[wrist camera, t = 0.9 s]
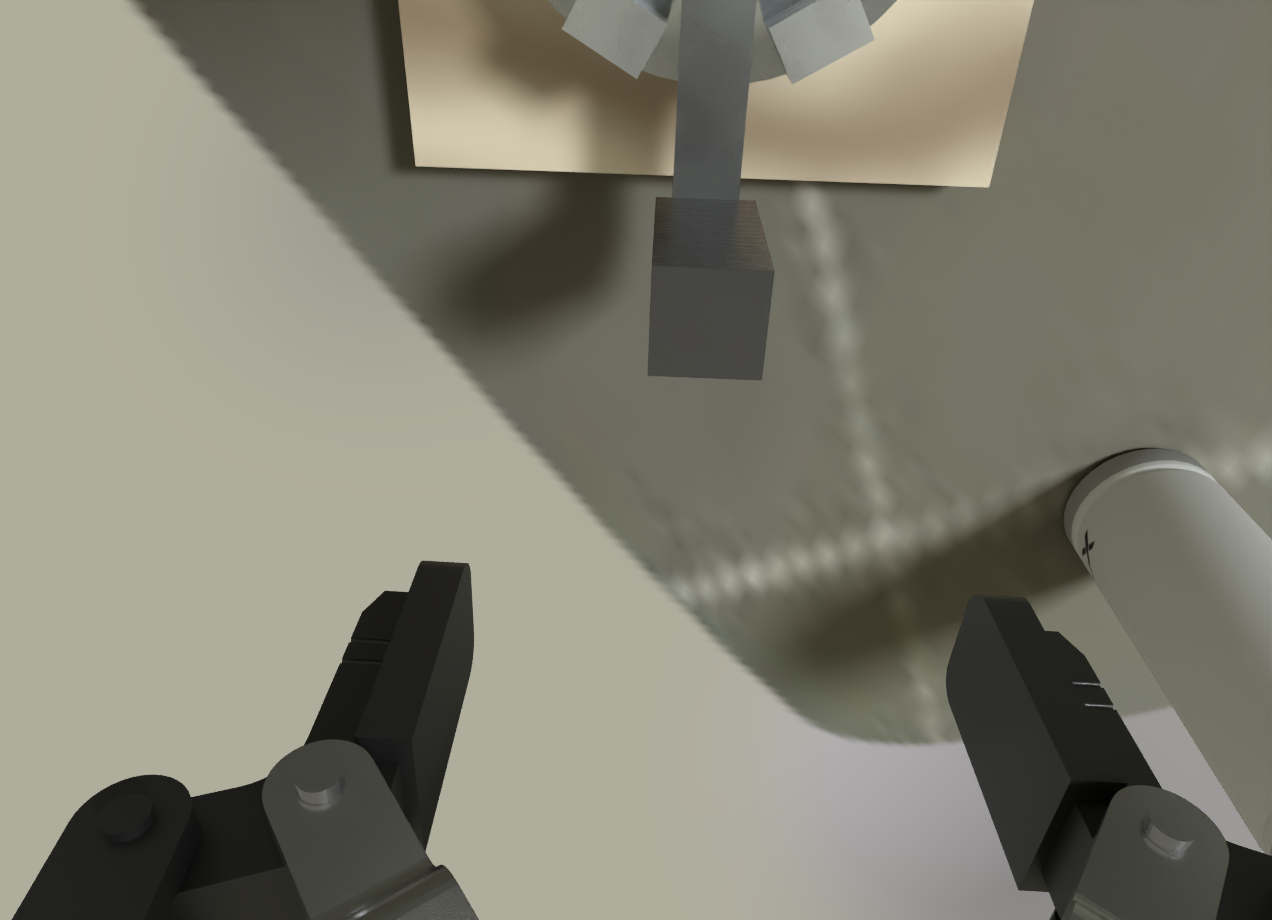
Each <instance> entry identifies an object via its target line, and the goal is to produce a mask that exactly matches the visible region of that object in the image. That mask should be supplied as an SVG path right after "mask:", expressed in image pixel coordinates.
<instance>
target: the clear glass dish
mask: <svg viewBox="0 0 1272 920" xmlns="http://www.w3.org/2000/svg"><path fill="white" fill-rule="evenodd" d="M549 1H550V3H551V4H552V5H553V6H554V8H555V9H556V10H557V11H558V12H559V13H560V14H561V15H562V16H563V17H564V18H565V19H566V21H565V23H564V25H563V27H562V30H564V31H565V32H567V33H568V34H570V35H571V36H573V37H574V38H576V39H577V40H579V41H580V42H582V43H583V44H585V45H586V46H588V47H589V48H591V49H592V50H594V51H595V52H597V53H598V54H600V55H601V56H603V57H604V58H606V59H607V60H609V61H610V62H612V63H613V64H615V65H616V66H618V67H619V68H621V69H622V70H624V71H625V72H627V73H628V74H630V75H631V76H633V77H634V78H636V79H637V78H638V76H639V75H640V73H641V71H645V72H647V73H650V74H652V75H655V76H658V77H662V78H666V79H670V80H674V81H678V88H677V108H676V129H675V149H674V170H673V190H672V198H667V197H656V207H655V223H654V239H653V256H652V275H651V302H650V328H649V354H648V376H668V377H692V378H717V379H741V380H762V374H763V365H764V357H765V348H766V339H767V331H768V322H769V313H770V305H771V296H772V288H773V279H774V267H773V264H772V260H771V256H770V253H769V249H768V245H767V242H766V238H765V234H764V231H763V227H762V223H761V220H760V216H759V213H758V209H757V205H756V202H755V201H747V200H739V192H740V180H741V169H742V158H743V147H744V136H745V125H746V113H747V102H748V91H749V83H753V82H758V81H764V80H770V79H773V78H776V77H779V76H782V75H785V74H786V76H787V77H788V79H789V80H790V82H791V83H792V85H793V84H794V83H796V82H798V81H800V80H802V79H804V78H805V77H807V76H809V75H811V74H813V73H815V72H816V71H818V70H820V69H822V68H824V67H826V66H827V65H829V64H831V63H833V62H835V61H837V60H838V59H840V58H842V57H844V56H846V55H848V54H849V53H851V52H853V51H855V50H857V49H859V48H861V47H862V46H864V45H866V44H868V43H870V42H872V41H873V40H875V39H874V36H873V33H872V30H871V28H870V26H871V25H872V24H874V23H875V22H876V21H877V20H878V19H879V18H880V17H881V16H882V15H883V14H884V13H885V12H886V11H887V10H888V9H889V8H890V7H891V6H892V5H893V4H894V3H895V2H896V1H897V0H549Z"/></svg>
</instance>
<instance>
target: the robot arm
mask: <svg viewBox="0 0 1272 920" xmlns="http://www.w3.org/2000/svg"><path fill="white" fill-rule="evenodd" d="M473 648H474V626H473V607H472V589H471V572H470V566H469V564H468V563H454V562H437V561H421V563H420V564H419V566H418V569H417V572H416V574H415V577H414V579H413V582H412V585H411V587H410V590H409V592H395V591H384V592H383V593H382V594H381V595H380V596H379V597H378V598H377V599H376V600H375V601H374V602H373V603H372V604H371V605H370V606H368V607H367V608H366V609H365V610H364V611H363V612H362V614H361V616H360V619H359V621H358V623H357V626H356V628H355V630H354V632H353V635H352V637H351V643H349V644H348V646H347V648H346V651H345V653H344V655H343V658H342V664H341V663H340V665H339V667H338V669H337V672H336V674H335V676H334V679H333V681H332V683H331V686H330V688H329V690H328V692H327V695H326V697H325V699H324V702H323V704H322V706H321V709H320V711H319V713H318V716H317V718H316V720H315V722H314V725H313V727H312V730H311V732H310V734H309V736H308V739H307V740H306V742H305V744H304V746H302V747H300V748H298V749H296V750H294V751H292V752H291V753H289V754H288V755H286V756H285V757H284V758H282V759H281V760H280V761H279V762H278V763H277V764H276V765H275V766H274V767H273V769H272V770H271V771H270V773H269V775H268V776H267V777H266V778H264V779H262V780H260V781H257V782H254V783H252V784H248V785H245V786H241V787H237V788H232V789H228V790H223V791H218V792H214V793H209V794H204V795H200V796H195V797H190V794H189V791H188V790H187V789H186V787H185V786H184V785H183V784H182V783H180V782H179V781H177V780H175V779H173V778H171V777H167V776H162V775H142V776H137V777H132V778H129V779H125V780H122V781H120V782H117V783H115V784H113V785H111V786H109V787H107V788H105V789H103V790H102V791H100V792H98V793H97V794H96V795H94V796H93V797H91V798H90V799H89V800H88V801H87V802H86V803H84V804H83V805H82V806H81V807H80V808H79V810H78V811H77V812H76V813H75V814H74V816H73V817H72V818H71V820H70V821H69V823H68V825H67V826H66V828H65V830H64V832H63V833H62V835H61V837H60V838H59V840H58V842H57V843H56V845H55V847H54V848H53V850H52V852H51V854H50V855H49V857H48V859H47V860H46V862H45V864H44V866H43V867H42V869H41V871H40V872H39V874H38V876H37V878H36V879H35V881H34V883H33V884H32V886H31V888H30V890H29V891H28V893H27V895H26V897H25V898H24V900H23V901H22V903H21V905H20V907H19V908H18V910H17V912H16V913H15V915H14V917H13V919H12V920H479V919H478V918H477V916H476V914H475V912H474V910H473V909H472V907H471V905H470V904H469V902H468V900H467V898H466V897H465V895H464V893H463V892H462V890H461V888H460V886H459V885H458V883H457V882H456V880H455V878H454V877H453V875H452V874H451V873H450V871H449V870H448V869H447V868H446V867H445V866H444V865H439V866H437V867H435V866H434V865H433V864H432V862H431V861H430V859H429V858H428V856H427V854H426V852H425V851H426V847H427V843H428V839H429V835H430V831H431V827H432V823H433V819H434V815H435V812H436V807H437V804H438V800H439V796H440V792H441V788H442V784H443V780H444V776H445V772H446V768H447V764H448V760H449V756H450V752H451V748H452V744H453V740H454V736H455V732H456V728H457V724H458V721H459V717H460V713H461V709H462V704H463V701H464V696H465V693H466V689H467V685H468V681H469V677H470V672H471V667H472V660H473V650H474V649H473ZM946 689H947V696H948V701H949V704H950V707H951V710H952V713H953V715H954V718H955V721H956V723H957V726H958V729H959V731H960V734H961V737H962V739H963V742H964V745H965V747H966V750H967V753H968V756H969V758H970V761H971V764H972V766H973V769H974V772H975V774H976V777H977V780H978V782H979V785H980V787H981V790H982V793H983V796H984V799H985V801H986V804H987V807H988V809H989V812H990V815H991V817H992V820H993V823H994V825H995V828H996V830H997V833H998V836H999V839H1000V842H1001V844H1002V847H1003V850H1004V852H1005V855H1006V858H1007V860H1008V863H1009V865H1010V868H1011V871H1012V874H1013V876H1014V879H1015V882H1016V885H1017V887H1018V890H1024V891H1042V892H1049V893H1050V896H1051V898H1052V901H1053V903H1054V906H1055V910H1054V911H1053V913H1052V915H1051V917H1050V919H1049V920H1272V856H1270V855H1267V854H1264V853H1261V852H1258V851H1254V850H1251V849H1248V848H1245V847H1242V846H1239V845H1236V844H1233V843H1231V842H1228V841H1225V839H1224V837H1223V835H1222V833H1221V832H1220V830H1219V829H1218V828H1217V826H1216V825H1215V824H1214V822H1213V821H1212V820H1211V819H1210V818H1209V817H1207V815H1206V814H1205V813H1204V812H1202V811H1201V810H1200V809H1199V808H1198V807H1196V806H1195V805H1193V804H1192V803H1190V802H1189V801H1187V800H1186V799H1184V798H1182V797H1180V796H1178V795H1176V794H1174V793H1172V792H1170V791H1166V790H1164V789H1162V788H1161V786H1160V784H1159V782H1158V781H1157V779H1156V777H1155V776H1154V774H1153V772H1152V770H1151V769H1150V767H1149V765H1148V764H1147V762H1146V760H1145V759H1144V757H1143V755H1142V753H1141V752H1140V750H1139V748H1138V746H1137V745H1136V743H1135V741H1134V740H1133V738H1132V736H1131V734H1130V733H1129V731H1128V730H1127V728H1126V726H1125V724H1124V722H1123V721H1122V719H1121V717H1120V715H1119V714H1118V712H1117V710H1113V703H1112V702H1111V700H1110V698H1109V697H1108V695H1107V693H1106V691H1105V690H1104V688H1101V687H1100V681H1099V679H1098V678H1097V676H1096V674H1095V672H1094V671H1093V669H1092V667H1091V666H1090V664H1089V662H1088V660H1087V659H1086V657H1085V656H1084V655H1083V654H1082V653H1081V652H1080V651H1079V650H1078V649H1077V648H1076V647H1074V646H1073V645H1072V644H1071V643H1070V642H1069V641H1068V640H1067V639H1066V638H1064V637H1063V636H1062V635H1061V634H1060V633H1059V632H1054V631H1044V629H1043V627H1042V625H1041V623H1040V621H1039V620H1038V618H1037V616H1036V614H1035V612H1034V610H1033V609H1032V607H1031V605H1030V603H1029V602H1028V601H1027V600H1026V599H1025V598H1022V597H1008V596H991V595H974V596H973V597H972V598H971V599H970V601H969V603H968V605H967V608H966V611H965V614H964V617H963V620H962V623H961V626H960V629H959V633H958V636H957V639H956V642H955V645H954V648H953V651H952V654H951V657H950V660H949V663H948V667H947V674H946Z"/></svg>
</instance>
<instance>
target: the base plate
mask: <svg viewBox="0 0 1272 920" xmlns="http://www.w3.org/2000/svg"><path fill="white" fill-rule="evenodd" d="M1033 2H1034V0H897V1H896V2H895V3H894V4H893V5H892V6H891V7H890V8H889V9H888V10H887V11H886V12H885V13H884V14H883V15H882V16H881V17H880V18H879V19H878V20H877V21H876V22H875V23H874V24H872V25H871V26H870V28H871V30H872V33H873V36H874V39H875V40H873V41H872V42H870V43H868V44H866V45H864V46H862V47H861V48H859V49H857V50H855V51H853V52H851V53H849V54H848V55H846V56H844V57H842V58H840V59H838V60H837V61H835V62H833V63H831V64H829V65H827V66H826V67H824V68H822V69H820V70H818V71H816V72H815V73H813V74H811V75H809V76H807V77H805V78H804V79H802V80H800V81H798V82H796V83H794V84H793V85H792V83H791V82H790V80H789V79H788V77H787V76H786V74H785V75H782V76H779V77H776V78H773V79H770V80H764V81H758V82H753V83H749V91H748V102H747V113H746V125H745V136H744V147H743V158H742V169H741V178H748V179H775V180H802V181H829V182H856V183H883V184H910V185H937V186H964V187H989V185H990V181H991V177H992V173H993V169H994V164H995V160H996V156H997V152H998V148H999V144H1000V139H1001V135H1002V131H1003V127H1004V123H1005V119H1006V114H1007V110H1008V106H1009V102H1010V98H1011V94H1012V89H1013V85H1014V81H1015V77H1016V73H1017V69H1018V64H1019V60H1020V56H1021V52H1022V48H1023V44H1024V39H1025V35H1026V31H1027V27H1028V23H1029V19H1030V14H1031V10H1032V6H1033ZM398 3H399V13H400V22H401V32H402V41H403V51H404V60H405V70H406V79H407V89H408V98H409V108H410V117H411V127H412V136H413V146H414V155H415V165H416V166H423V167H450V168H477V169H504V170H531V171H558V172H585V173H613V174H640V175H667V176H673V170H674V149H675V129H676V108H677V88H678V81H674V80H670V79H666V78H662V77H658V76H655V75H652V74H650V73H647V72H645V71H641V73H640V75H639V76H638V78H637V79H636V78H634V77H633V76H631V75H630V74H628V73H627V72H625V71H624V70H622V69H621V68H619V67H618V66H616V65H615V64H613V63H612V62H610V61H609V60H607V59H606V58H604V57H603V56H601V55H600V54H598V53H597V52H595V51H594V50H592V49H591V48H589V47H588V46H586V45H585V44H583V43H582V42H580V41H579V40H577V39H576V38H574V37H573V36H571V35H570V34H568V33H567V32H565V31H564V30H562V27H563V25H564V23H565V21H566V19H565V18H564V17H563V16H562V15H561V14H560V13H559V12H558V11H557V10H556V9H555V8H554V6H553V5H552V4H551V3H550V1H549V0H398Z"/></svg>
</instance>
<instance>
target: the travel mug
mask: <svg viewBox="0 0 1272 920" xmlns="http://www.w3.org/2000/svg"><path fill="white" fill-rule="evenodd" d="M1064 528H1065V532H1066V535H1067V537H1068V539H1069V540H1070V542H1071V544H1072V546H1073V547H1074V549H1075V550H1076V552H1077V554H1078V555H1079V557H1080V558H1081V560H1082V561H1083V563H1084V565H1085V566H1086V568H1087V570H1088V571H1089V573H1090V575H1091V576H1092V578H1093V579H1094V581H1095V583H1096V584H1097V586H1098V587H1099V589H1100V591H1101V592H1102V594H1103V595H1104V597H1105V599H1106V600H1107V602H1108V604H1109V605H1110V607H1111V608H1112V610H1113V612H1114V613H1115V615H1116V616H1117V618H1118V620H1119V621H1120V623H1121V624H1122V626H1123V628H1124V629H1125V631H1126V632H1127V634H1128V636H1129V637H1130V639H1131V641H1132V642H1133V644H1134V645H1135V647H1136V649H1137V650H1138V652H1139V653H1140V655H1141V657H1142V658H1143V660H1144V661H1145V663H1146V665H1147V666H1148V668H1149V670H1150V671H1151V673H1152V674H1153V676H1154V678H1155V679H1156V681H1157V682H1158V684H1159V686H1160V687H1161V689H1162V690H1163V692H1164V694H1165V695H1166V697H1167V698H1168V700H1169V702H1170V703H1171V705H1172V707H1173V708H1174V710H1175V711H1176V713H1177V715H1178V716H1179V718H1180V719H1181V721H1182V722H1183V724H1184V726H1185V727H1186V729H1187V730H1188V732H1189V734H1190V735H1191V737H1192V739H1193V740H1194V742H1195V744H1196V745H1197V747H1198V748H1199V750H1200V752H1201V753H1202V755H1203V756H1204V758H1205V760H1206V761H1207V763H1208V764H1209V766H1210V768H1211V769H1212V771H1213V773H1214V774H1215V776H1216V777H1217V779H1218V780H1219V782H1220V784H1221V785H1222V787H1223V789H1224V790H1225V792H1226V793H1227V795H1228V797H1229V798H1230V800H1231V801H1232V803H1233V805H1234V806H1235V808H1236V809H1237V811H1238V813H1239V814H1240V816H1241V818H1242V819H1243V821H1244V822H1245V824H1246V825H1247V827H1248V829H1249V830H1250V832H1251V834H1252V835H1253V837H1254V838H1255V840H1256V842H1257V843H1258V845H1259V847H1260V848H1261V849H1262V850H1263V851H1264V853H1265V854H1267V855H1270V856H1272V540H1271V539H1270V538H1269V537H1268V536H1267V535H1266V533H1265V532H1264V531H1263V530H1262V529H1261V528H1260V527H1259V526H1258V525H1257V524H1256V523H1255V522H1254V521H1253V520H1252V519H1251V518H1250V516H1249V515H1248V514H1247V513H1246V512H1245V511H1244V510H1243V509H1242V508H1241V507H1240V506H1239V505H1238V504H1237V503H1236V502H1235V500H1234V499H1233V498H1232V497H1231V496H1230V495H1229V494H1228V493H1227V492H1226V491H1225V490H1224V489H1223V488H1222V487H1221V486H1220V485H1219V484H1218V483H1217V482H1216V481H1215V479H1214V478H1213V477H1212V476H1211V475H1210V474H1209V473H1208V472H1207V471H1206V470H1205V469H1204V468H1203V466H1202V465H1201V464H1200V463H1199V462H1197V461H1196V460H1194V459H1193V458H1192V457H1190V456H1188V455H1186V454H1183V453H1181V452H1178V451H1173V450H1167V449H1144V450H1137V451H1132V452H1129V453H1126V454H1122V455H1119V456H1117V457H1115V458H1113V459H1110V460H1108V461H1106V462H1104V463H1103V464H1101V465H1100V466H1098V467H1097V468H1095V469H1094V470H1092V471H1091V472H1090V473H1089V474H1088V475H1087V476H1085V477H1084V478H1083V479H1082V480H1081V481H1080V483H1079V484H1078V485H1077V486H1076V488H1075V489H1074V490H1073V492H1072V494H1071V496H1070V498H1069V500H1068V502H1067V505H1066V508H1065V512H1064Z"/></svg>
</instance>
